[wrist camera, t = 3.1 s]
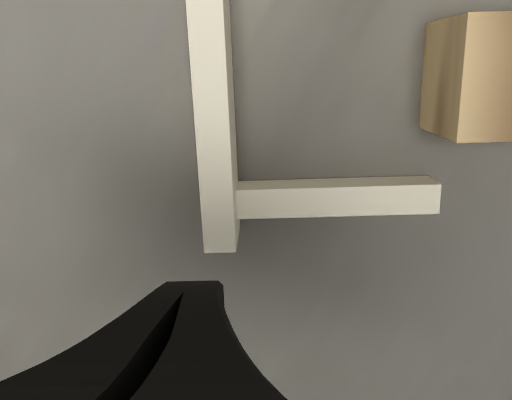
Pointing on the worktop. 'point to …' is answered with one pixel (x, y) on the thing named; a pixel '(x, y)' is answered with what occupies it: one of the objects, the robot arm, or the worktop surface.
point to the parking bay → (268, 191)
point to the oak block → (468, 78)
